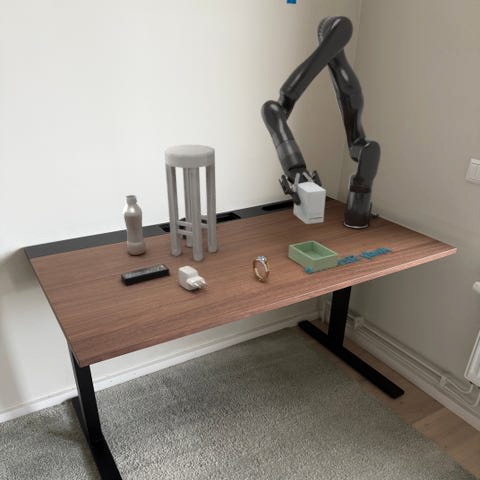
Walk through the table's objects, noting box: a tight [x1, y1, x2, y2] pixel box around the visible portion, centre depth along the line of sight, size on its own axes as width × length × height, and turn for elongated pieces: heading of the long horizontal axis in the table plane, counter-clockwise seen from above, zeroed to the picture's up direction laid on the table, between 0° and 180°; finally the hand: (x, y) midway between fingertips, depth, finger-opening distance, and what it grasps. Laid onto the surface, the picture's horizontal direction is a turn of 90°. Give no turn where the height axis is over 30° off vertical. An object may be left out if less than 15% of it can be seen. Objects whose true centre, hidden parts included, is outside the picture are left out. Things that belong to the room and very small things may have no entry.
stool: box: [163, 144, 218, 262], centre depth 158 cm, size 16×16×35 cm
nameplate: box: [304, 247, 392, 275], centre depth 162 cm, size 37×1×5 cm
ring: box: [252, 255, 270, 282], centre depth 147 cm, size 7×3×8 cm, turn 31°
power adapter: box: [177, 265, 209, 291], centre depth 141 cm, size 11×5×6 cm, turn 39°
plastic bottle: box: [122, 194, 147, 255], centre depth 162 cm, size 6×7×20 cm
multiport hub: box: [120, 263, 170, 286], centre depth 149 cm, size 4×14×2 cm, turn 121°
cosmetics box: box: [293, 181, 327, 225], centre depth 152 cm, size 10×6×10 cm, turn 18°
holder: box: [287, 240, 340, 273], centre depth 160 cm, size 10×14×4 cm
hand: (308, 202), depth 153 cm, fingers closed on cosmetics box, 7 cm apart
